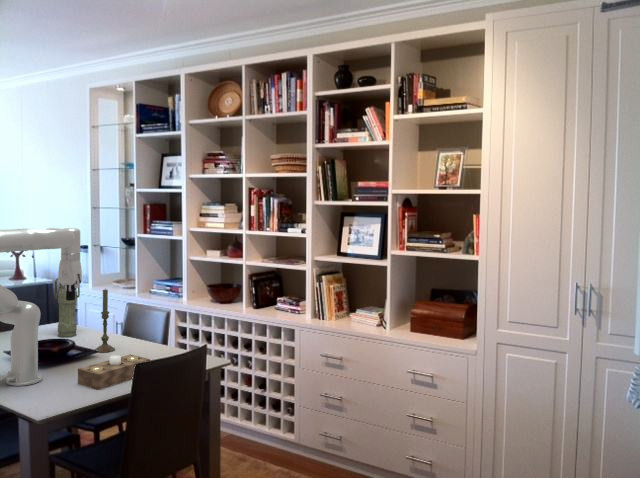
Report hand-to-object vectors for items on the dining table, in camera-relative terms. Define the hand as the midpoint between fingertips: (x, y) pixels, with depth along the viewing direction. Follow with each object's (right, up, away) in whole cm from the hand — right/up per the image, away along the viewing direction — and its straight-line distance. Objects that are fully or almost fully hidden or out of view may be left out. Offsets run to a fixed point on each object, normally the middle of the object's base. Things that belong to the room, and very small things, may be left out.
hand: (70, 300), depth 244 cm
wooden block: (+23, -31, -11) cm, 40 cm away
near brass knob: (+18, -30, -18) cm, 40 cm away
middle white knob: (+23, -27, -11) cm, 37 cm away
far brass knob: (+27, -29, -3) cm, 40 cm away
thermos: (-26, -25, +55) cm, 65 cm away
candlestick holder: (+3, -27, +29) cm, 40 cm away
